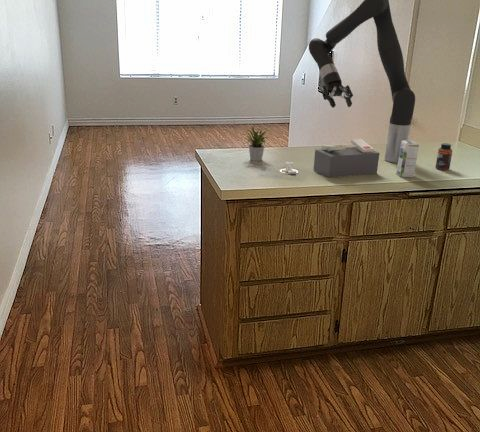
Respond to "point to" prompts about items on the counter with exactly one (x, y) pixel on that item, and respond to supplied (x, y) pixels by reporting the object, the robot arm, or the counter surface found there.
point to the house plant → (256, 144)
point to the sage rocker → (333, 147)
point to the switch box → (345, 162)
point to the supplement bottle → (444, 157)
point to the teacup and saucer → (289, 168)
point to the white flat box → (361, 145)
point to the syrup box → (407, 158)
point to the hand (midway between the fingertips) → (342, 106)
